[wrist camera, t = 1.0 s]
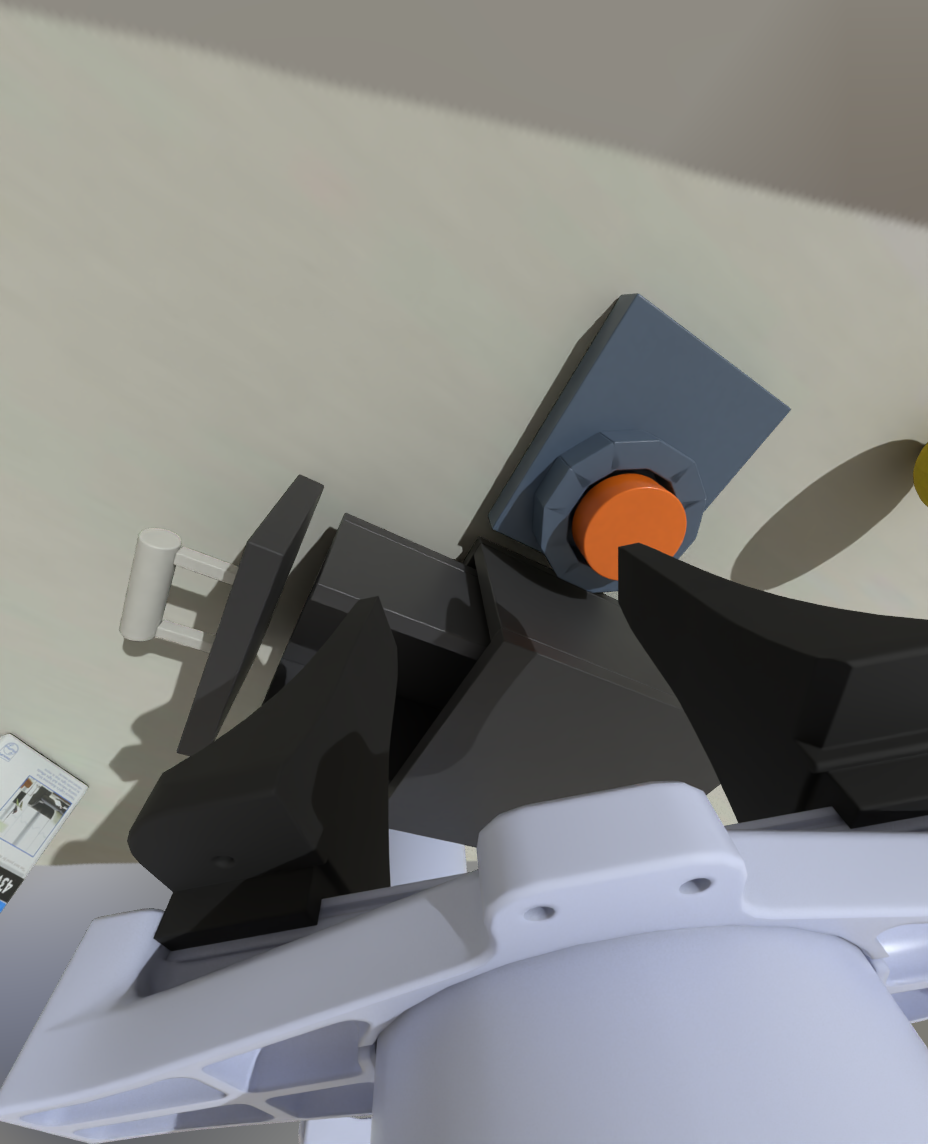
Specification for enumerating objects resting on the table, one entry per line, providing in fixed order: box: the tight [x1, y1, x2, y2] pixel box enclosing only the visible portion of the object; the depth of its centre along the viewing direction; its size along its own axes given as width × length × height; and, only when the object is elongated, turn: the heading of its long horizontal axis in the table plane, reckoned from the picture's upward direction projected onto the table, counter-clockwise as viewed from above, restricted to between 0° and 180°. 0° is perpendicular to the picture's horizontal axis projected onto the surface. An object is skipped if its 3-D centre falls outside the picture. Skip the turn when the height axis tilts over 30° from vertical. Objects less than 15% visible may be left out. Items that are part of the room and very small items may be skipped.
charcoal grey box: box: [388, 536, 720, 848], centre depth 24 cm, size 15×13×9 cm
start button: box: [572, 473, 687, 581], centre depth 19 cm, size 4×4×2 cm
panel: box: [488, 293, 791, 593], centre depth 20 cm, size 11×9×4 cm
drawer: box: [119, 475, 491, 785], centre depth 21 cm, size 18×11×7 cm, turn 61°
